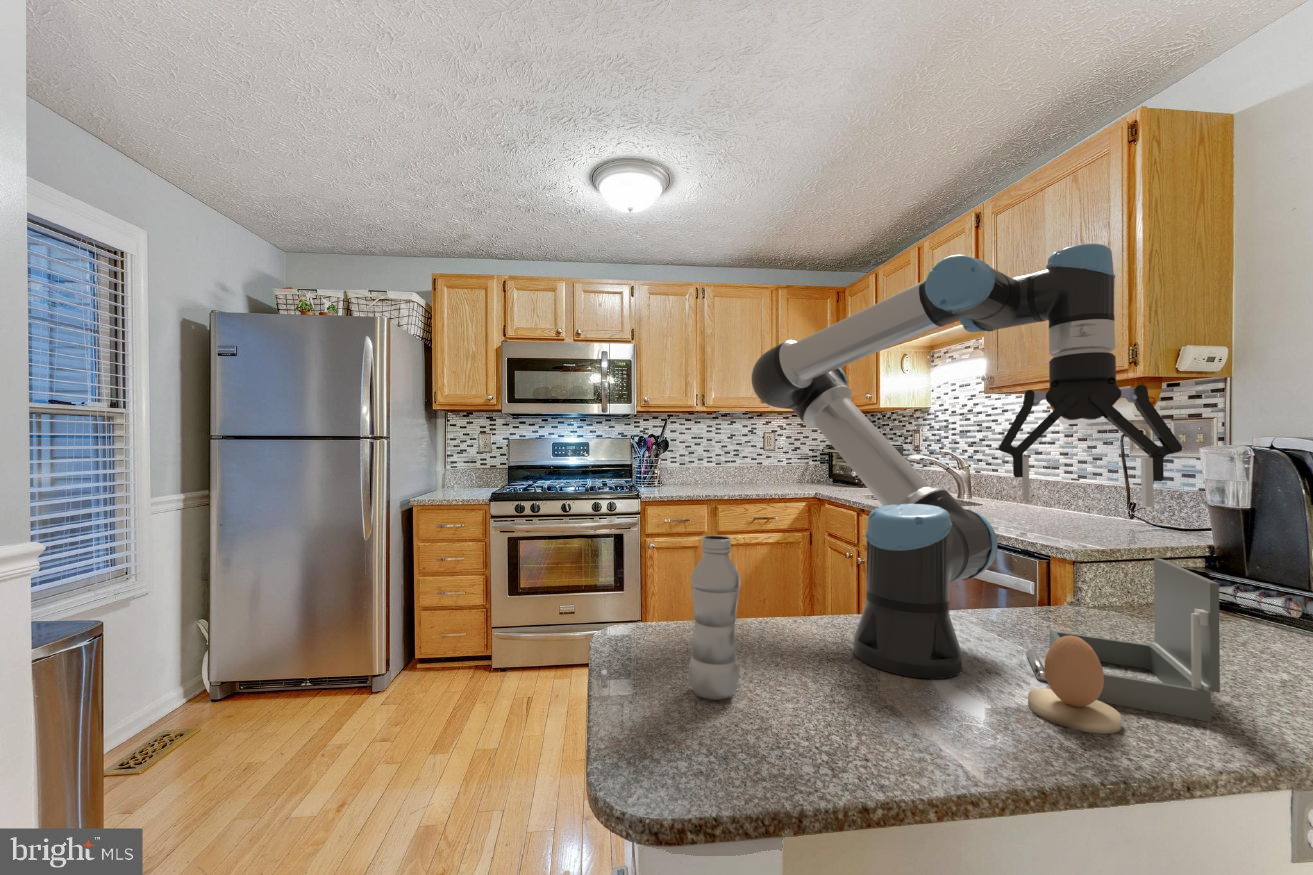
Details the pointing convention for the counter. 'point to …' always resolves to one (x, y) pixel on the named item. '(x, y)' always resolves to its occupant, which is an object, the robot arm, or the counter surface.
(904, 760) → the counter surface
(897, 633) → the robot arm
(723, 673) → the plastic bottle
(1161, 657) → the grey hinged box
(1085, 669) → the egg
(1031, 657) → the rod
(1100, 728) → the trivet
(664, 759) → the counter surface
